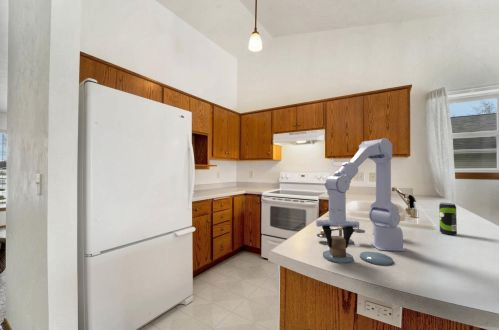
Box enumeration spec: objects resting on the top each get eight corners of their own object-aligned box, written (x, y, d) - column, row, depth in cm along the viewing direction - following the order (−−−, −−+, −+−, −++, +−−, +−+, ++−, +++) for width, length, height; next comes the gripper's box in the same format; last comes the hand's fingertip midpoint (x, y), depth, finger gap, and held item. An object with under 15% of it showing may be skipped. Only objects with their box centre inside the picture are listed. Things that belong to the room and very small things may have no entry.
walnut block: (342, 252, 80) (341, 235, 80) (346, 257, 75) (345, 239, 76) (329, 251, 80) (329, 235, 81) (332, 256, 76) (332, 239, 76)
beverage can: (455, 233, 108) (454, 203, 109) (458, 236, 103) (457, 204, 103) (438, 231, 112) (438, 202, 112) (441, 234, 106) (440, 203, 107)
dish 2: (383, 254, 81) (383, 252, 81) (399, 266, 71) (399, 263, 71) (355, 253, 82) (355, 251, 82) (366, 264, 72) (366, 262, 72)
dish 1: (347, 252, 82) (347, 250, 82) (357, 264, 72) (357, 261, 72) (320, 251, 83) (320, 249, 83) (326, 262, 73) (326, 260, 74)
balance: (362, 241, 96) (362, 223, 96) (367, 245, 90) (367, 226, 91) (315, 239, 98) (315, 222, 98) (318, 243, 93) (318, 225, 93)
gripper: (318, 210, 75) (318, 250, 75) (362, 211, 74) (363, 252, 73) (314, 207, 82) (315, 243, 82) (355, 208, 81) (355, 244, 80)
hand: (337, 247), depth 78 cm, fingers open, 5 cm apart
